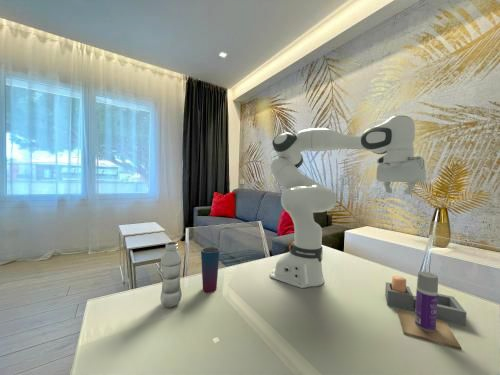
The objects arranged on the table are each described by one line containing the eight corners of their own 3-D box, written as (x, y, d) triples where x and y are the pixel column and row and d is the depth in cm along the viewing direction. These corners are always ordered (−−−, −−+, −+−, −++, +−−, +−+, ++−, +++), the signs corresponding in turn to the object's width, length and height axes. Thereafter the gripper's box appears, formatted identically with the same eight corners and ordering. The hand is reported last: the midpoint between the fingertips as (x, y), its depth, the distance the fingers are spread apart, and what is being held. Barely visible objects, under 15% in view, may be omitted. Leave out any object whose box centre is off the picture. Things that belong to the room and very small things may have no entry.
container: (434, 334, 60) (437, 279, 59) (413, 325, 63) (415, 274, 63) (436, 326, 63) (439, 275, 63) (416, 319, 67) (419, 269, 66)
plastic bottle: (186, 301, 74) (186, 242, 73) (170, 312, 68) (171, 248, 67) (171, 296, 77) (172, 239, 76) (155, 306, 70) (156, 244, 70)
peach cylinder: (391, 302, 76) (393, 279, 75) (390, 297, 79) (391, 275, 79) (406, 305, 74) (407, 282, 73) (404, 299, 77) (405, 277, 77)
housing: (387, 307, 74) (388, 292, 73) (384, 293, 82) (385, 280, 82) (465, 325, 65) (466, 309, 65) (452, 308, 74) (453, 293, 74)
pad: (403, 333, 61) (403, 331, 61) (397, 311, 72) (397, 309, 71) (461, 349, 55) (461, 347, 55) (444, 322, 66) (445, 320, 66)
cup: (196, 291, 81) (197, 250, 80) (207, 283, 87) (207, 245, 86) (212, 295, 78) (213, 253, 77) (222, 287, 84) (223, 248, 84)
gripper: (432, 155, 76) (430, 195, 77) (387, 160, 96) (385, 192, 97) (416, 155, 75) (413, 195, 76) (374, 160, 96) (372, 192, 96)
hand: (397, 193), depth 87 cm, fingers open, 8 cm apart
